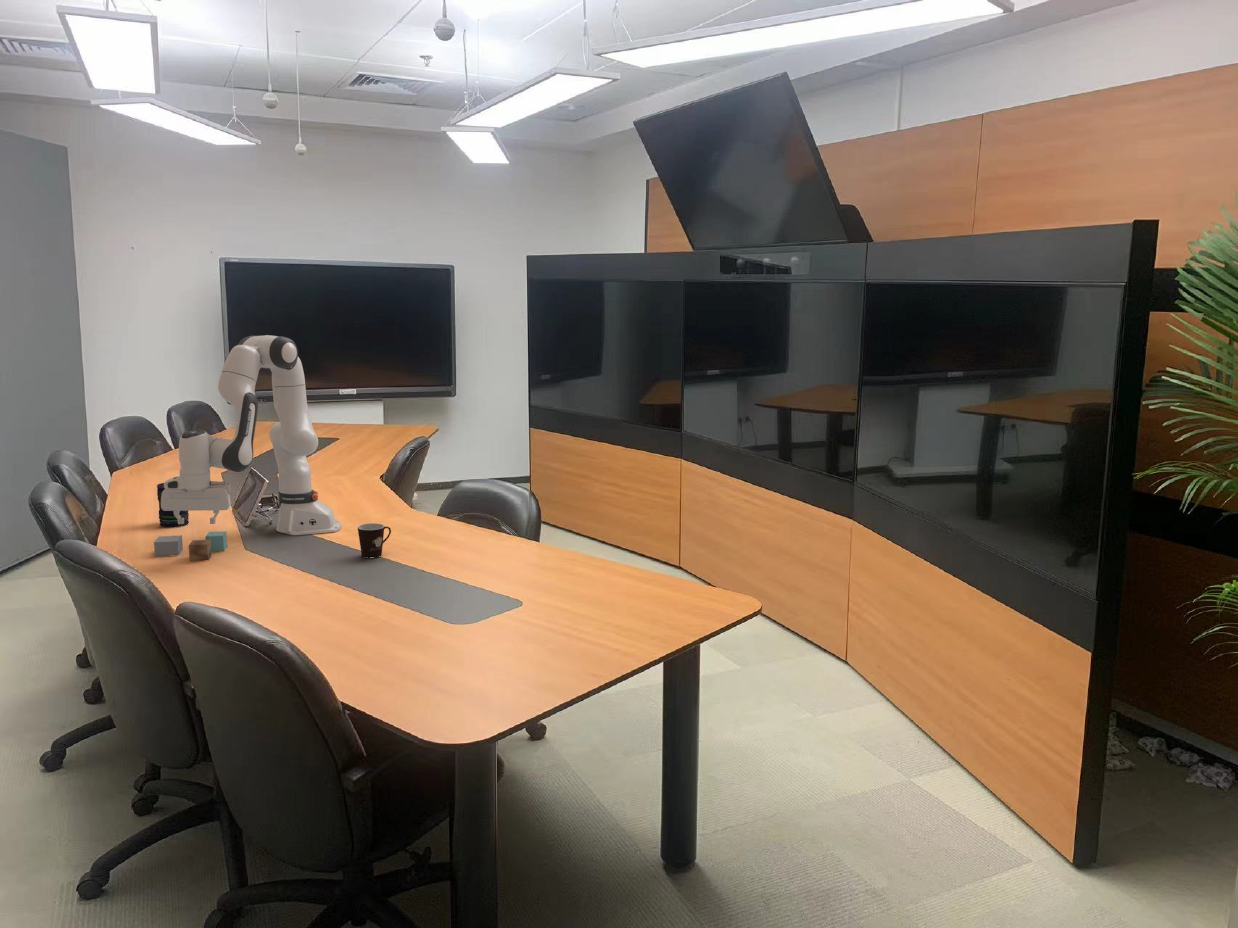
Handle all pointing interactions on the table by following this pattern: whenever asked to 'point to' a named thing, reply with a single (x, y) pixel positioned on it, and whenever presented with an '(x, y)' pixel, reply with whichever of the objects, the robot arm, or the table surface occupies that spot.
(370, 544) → the coffee mug
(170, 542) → the grey base block
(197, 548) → the walnut cube
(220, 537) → the teal cube
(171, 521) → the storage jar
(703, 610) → the table surface
